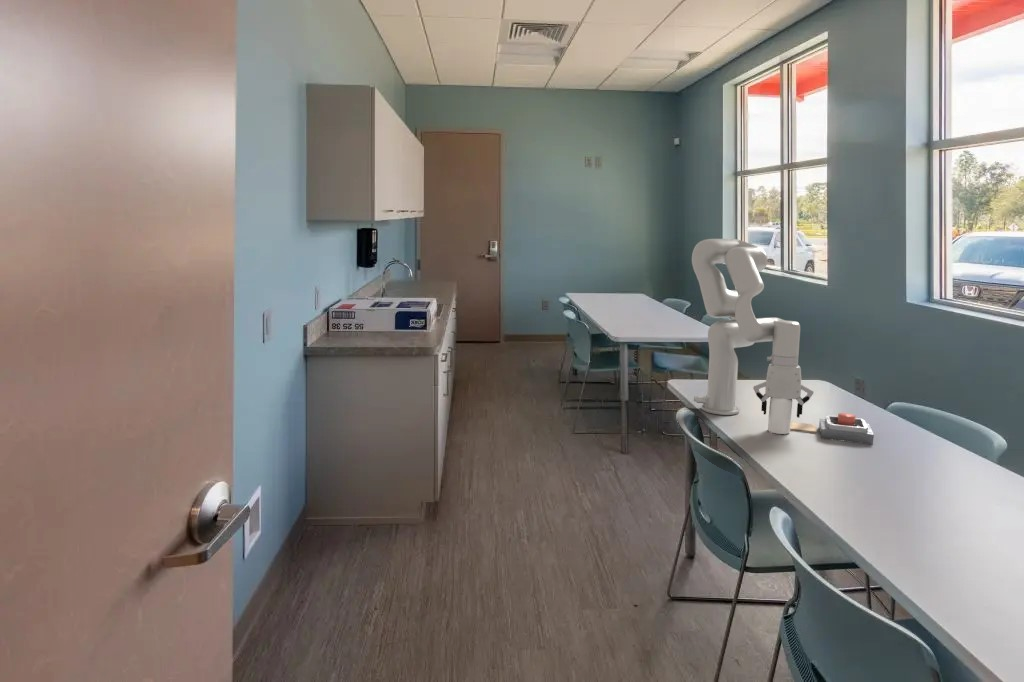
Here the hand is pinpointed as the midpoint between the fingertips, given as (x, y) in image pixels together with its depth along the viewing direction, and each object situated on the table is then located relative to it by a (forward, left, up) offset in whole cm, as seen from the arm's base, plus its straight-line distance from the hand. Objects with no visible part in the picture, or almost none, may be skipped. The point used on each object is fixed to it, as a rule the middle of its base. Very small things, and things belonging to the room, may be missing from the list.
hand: (781, 415), depth 207 cm
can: (0, 0, -6) cm, 6 cm away
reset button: (+19, +4, -2) cm, 19 cm away
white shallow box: (+19, +4, -6) cm, 20 cm away
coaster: (+7, +7, -6) cm, 11 cm away
